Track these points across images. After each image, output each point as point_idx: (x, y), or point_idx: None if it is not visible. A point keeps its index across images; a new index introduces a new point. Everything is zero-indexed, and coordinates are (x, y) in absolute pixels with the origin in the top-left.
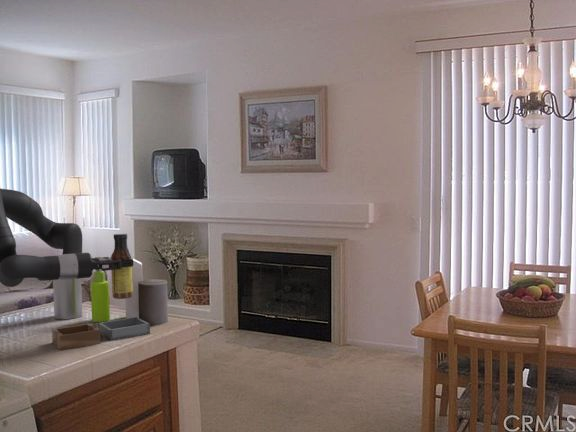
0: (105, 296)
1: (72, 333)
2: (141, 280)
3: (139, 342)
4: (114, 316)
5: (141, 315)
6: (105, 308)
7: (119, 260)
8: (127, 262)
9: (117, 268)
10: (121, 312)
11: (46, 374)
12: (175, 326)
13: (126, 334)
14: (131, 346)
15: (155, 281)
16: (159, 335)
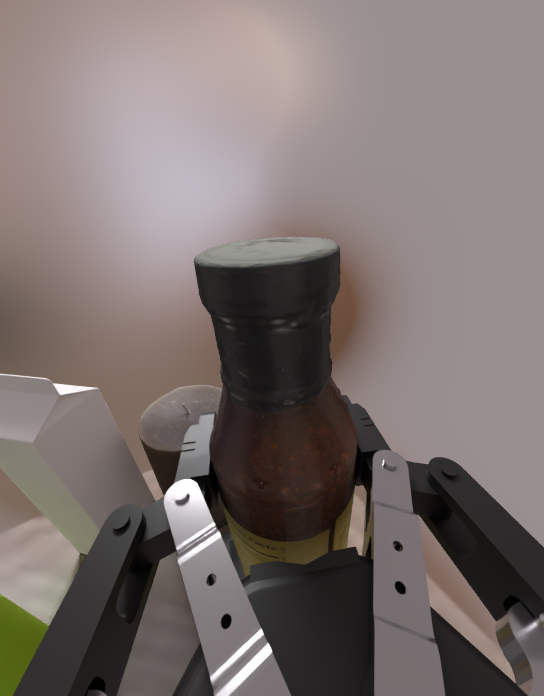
0: (1, 620)
1: None
2: (117, 434)
3: (430, 590)
4: (31, 595)
5: (213, 514)
6: (32, 641)
7: (454, 466)
8: (373, 429)
9: (462, 522)
10: (11, 554)
11: None
12: None
13: None
14: (486, 637)
15: (190, 406)
16: (358, 510)
